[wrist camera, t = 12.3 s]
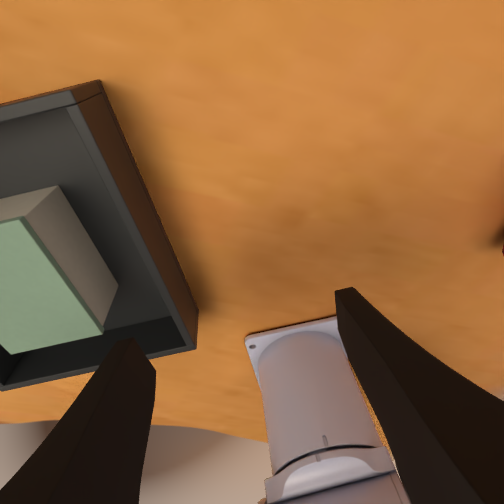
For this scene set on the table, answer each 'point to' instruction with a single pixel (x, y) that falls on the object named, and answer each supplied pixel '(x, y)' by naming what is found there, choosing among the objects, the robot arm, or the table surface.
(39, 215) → the small container
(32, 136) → the dark brown tray
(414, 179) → the table surface
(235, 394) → the table surface
